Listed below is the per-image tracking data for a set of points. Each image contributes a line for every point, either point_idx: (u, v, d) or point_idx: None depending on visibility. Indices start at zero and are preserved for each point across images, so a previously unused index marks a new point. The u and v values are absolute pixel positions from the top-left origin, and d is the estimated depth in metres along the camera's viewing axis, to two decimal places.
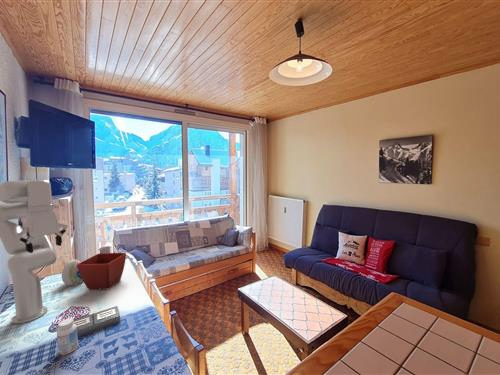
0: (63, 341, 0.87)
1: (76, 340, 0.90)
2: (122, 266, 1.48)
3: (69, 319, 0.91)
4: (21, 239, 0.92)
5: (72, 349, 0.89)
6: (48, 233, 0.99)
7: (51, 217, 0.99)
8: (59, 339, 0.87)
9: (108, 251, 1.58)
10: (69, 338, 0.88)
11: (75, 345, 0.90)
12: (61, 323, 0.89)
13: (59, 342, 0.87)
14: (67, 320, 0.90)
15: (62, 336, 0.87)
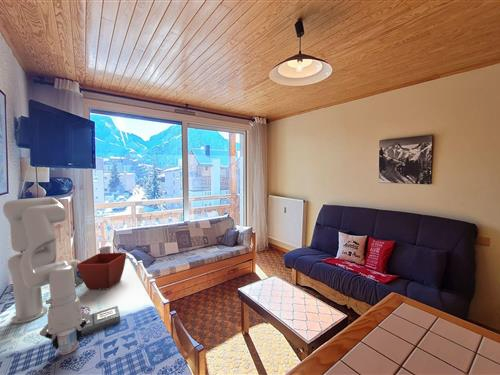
0: (63, 341, 0.87)
1: (76, 340, 0.90)
2: (122, 266, 1.48)
3: None
4: None
5: (72, 349, 0.89)
6: None
7: None
8: (59, 339, 0.87)
9: (108, 251, 1.58)
10: (69, 338, 0.88)
11: (75, 345, 0.90)
12: None
13: (59, 342, 0.87)
14: None
15: (62, 336, 0.87)
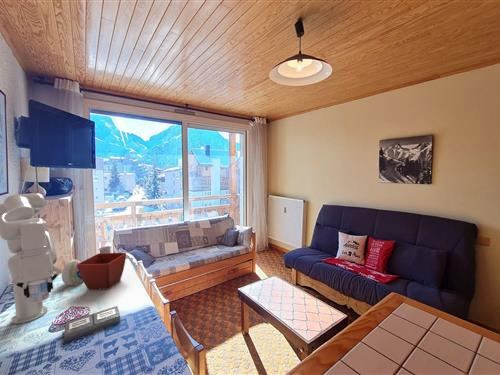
0: (34, 290, 0.93)
1: (47, 291, 0.97)
2: (122, 266, 1.48)
3: None
4: None
5: (43, 298, 0.95)
6: None
7: None
8: (30, 288, 0.93)
9: (108, 251, 1.58)
10: (40, 288, 0.94)
11: (46, 295, 0.96)
12: None
13: (30, 291, 0.93)
14: None
15: (33, 286, 0.93)
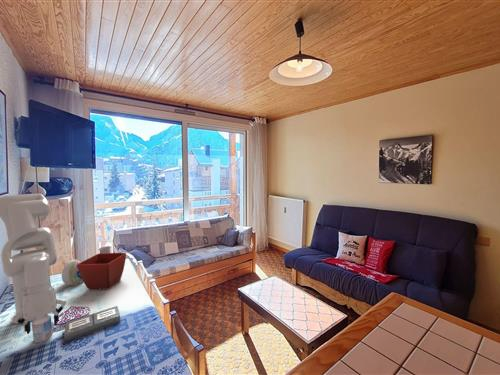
0: (37, 329, 0.94)
1: (50, 329, 0.98)
2: (122, 266, 1.48)
3: None
4: None
5: (46, 337, 0.96)
6: None
7: None
8: (34, 328, 0.94)
9: (108, 251, 1.58)
10: (43, 327, 0.95)
11: (49, 334, 0.97)
12: None
13: (34, 330, 0.94)
14: None
15: (37, 325, 0.94)
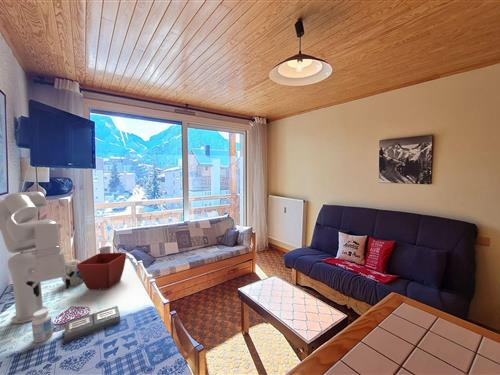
0: (37, 329, 0.94)
1: (50, 329, 0.98)
2: (122, 266, 1.48)
3: (44, 309, 0.98)
4: None
5: (46, 337, 0.96)
6: None
7: None
8: (34, 328, 0.94)
9: (108, 251, 1.58)
10: (43, 327, 0.95)
11: (49, 334, 0.97)
12: (36, 313, 0.96)
13: (34, 330, 0.94)
14: (42, 310, 0.97)
15: (37, 325, 0.94)
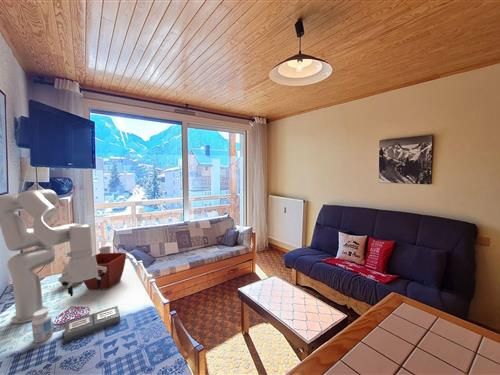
0: (37, 329, 0.94)
1: (50, 329, 0.98)
2: (122, 266, 1.48)
3: (44, 309, 0.98)
4: None
5: (46, 337, 0.96)
6: None
7: None
8: (33, 328, 0.94)
9: (108, 251, 1.58)
10: (43, 327, 0.95)
11: (49, 334, 0.97)
12: (36, 313, 0.96)
13: (34, 330, 0.94)
14: (42, 310, 0.97)
15: (37, 325, 0.94)
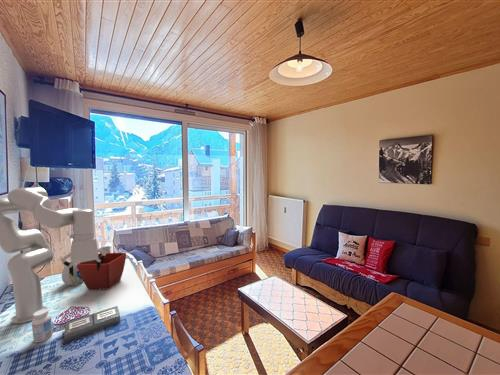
0: (37, 329, 0.94)
1: (50, 329, 0.98)
2: (122, 266, 1.48)
3: (44, 309, 0.98)
4: None
5: (46, 337, 0.96)
6: None
7: None
8: (33, 328, 0.94)
9: (108, 251, 1.58)
10: (43, 327, 0.95)
11: (49, 334, 0.97)
12: (36, 313, 0.96)
13: (34, 330, 0.94)
14: (42, 310, 0.97)
15: (37, 325, 0.94)
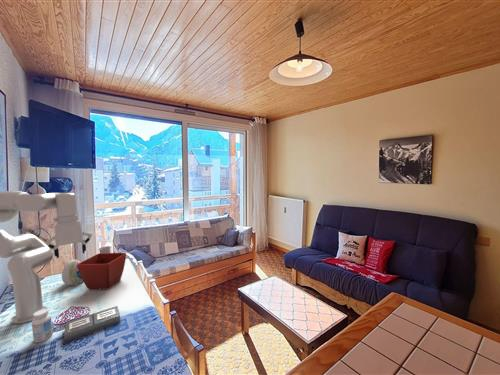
0: (37, 329, 0.94)
1: (50, 329, 0.98)
2: (122, 266, 1.48)
3: (44, 309, 0.98)
4: None
5: (46, 337, 0.96)
6: None
7: None
8: (34, 328, 0.94)
9: (108, 251, 1.58)
10: (43, 327, 0.95)
11: (49, 334, 0.97)
12: (36, 313, 0.96)
13: (34, 330, 0.94)
14: (42, 310, 0.97)
15: (37, 325, 0.94)
